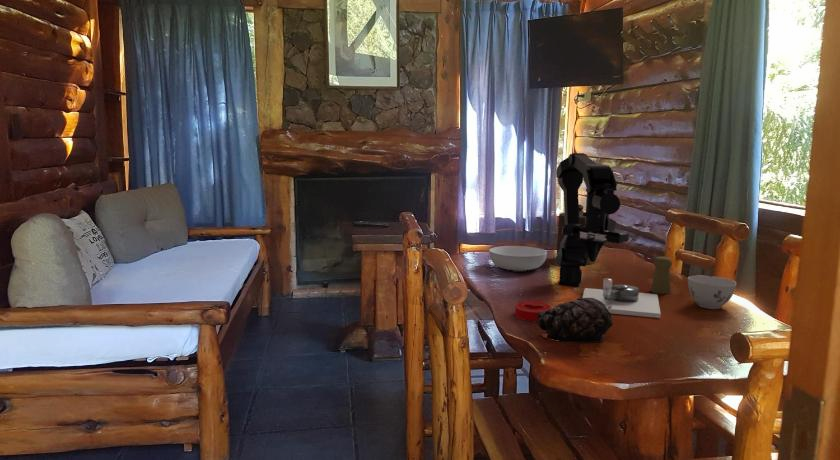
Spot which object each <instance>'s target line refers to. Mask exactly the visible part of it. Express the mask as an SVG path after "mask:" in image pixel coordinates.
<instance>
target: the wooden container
mask: <svg viewBox="0 0 840 460" xmlns="http://www.w3.org/2000/svg"><path fill="white" fill-rule="evenodd" d="M584 209H585V208H584V206H583V205H582V204H579V224H581V225H583V226H585V216H583V213H584V212H585V211H584ZM564 225H565V221H564V212H560V213H558V228H557V240H556V254H557V253H558V251H559V249H560V243H561V242H562V240H563V238H564V236H565V235H564V234H562V228H563V227H564ZM594 237H595V236H594ZM596 262H597V259H596V260H595V262H591V261H590V259H589V256H588V255H587V261H586V264H585V266H586V265H593V264H595V263H596Z"/></svg>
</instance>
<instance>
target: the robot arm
mask: <svg viewBox="0 0 840 460" xmlns="http://www.w3.org/2000/svg"><path fill="white" fill-rule="evenodd" d="M555 175H556V178H557V184H558V186H559V187H560V188H561V190H562V192H563V213H564V221H565V225H564V227H563V228H562V234H564V235H565V236H564V238H563V240H562V242H561V243H560V249H559V251H558V253H557V252H556V255H555V265H557V266H558V267H559V280H558V285H561V286H571V287H579V286H580V284H582V279H583V269H582V268H581V267H586V265H585V264H586V261H587V255H588V256H589V259H590V261H591V262H595V260H596V261H597V259H598V256H599V254H600V251H601V249H602V248H603V246H604V244H606V243H613V244H622V243H626V242H629V239H630V237H629V236H630V235H629V232H628V231H626V230H620V229H616V225H617V220H615V219H612V218H610V216H609V215H614V214H616V213H617V212H618V211H619V209H620V206H621V199H620V198H619V196H617V195H616V193H615V192H616V191H617V186H618V183H617V180H616V177H615V175H614V171H613V169H612V167H611V166H610V165H608V164H598V163H596V162H595V161H594V160H593V159H591V158H590V157H589V156H588V155H587V153H584V152H572V153H569V155H568V157H566V158H565V159H563V160H561V161H560V162H559V164H558V165H557V167H556V171H555ZM583 182H584V185H585V188H586V189H585V192H586V199H585V200H586V203H585V211H583V212H584V213H583V216H585V226H583V225H581V224H579V189H580V187H581V186H582V184H583ZM594 236H595V237H594ZM595 263H596V262H595Z"/></svg>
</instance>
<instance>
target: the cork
mask: <svg viewBox="0 0 840 460" xmlns="http://www.w3.org/2000/svg"><path fill="white" fill-rule="evenodd" d="M672 264H673V261H672V258H670V257H667V256H657V257H655V258H654V260H653V265H654V267H655V269H654V273H653V277H652V282H651V286H650V292H652V293H653V294H659V295H661V294H662V295H669V294H671V293H672V287H671V273H670V272H671V269H670V268H671V267H672Z"/></svg>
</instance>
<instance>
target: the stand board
mask: <svg viewBox="0 0 840 460" xmlns="http://www.w3.org/2000/svg"><path fill="white" fill-rule="evenodd" d="M581 298H594V299H597V300H599V301H601V302H603V304H604V305H605V306H606V308H607V309H608V311H609V312H610V313H611V314H614V315H615V314H616V315H624V316H633V317H634V316H636V317H645V318H658V319H661V309H660V303H659V296H658V293H648V292H647V293H646V292H639V297H638V300H637V301H633V302H623V301H617V300H610V301H609V300H605V299H604V297H603V289H600V288H589V287H588V288H587V287H585V288H584V291H583V294H582V296H581Z"/></svg>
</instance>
